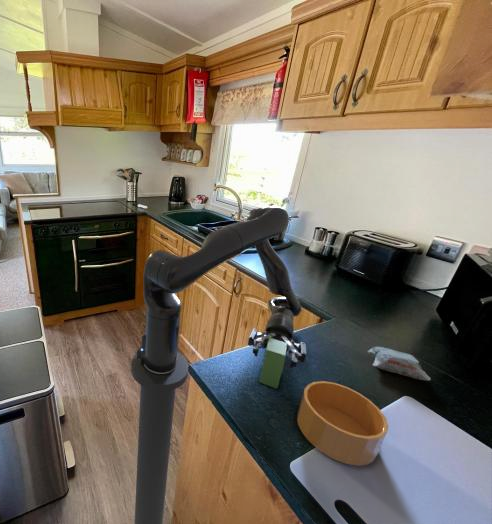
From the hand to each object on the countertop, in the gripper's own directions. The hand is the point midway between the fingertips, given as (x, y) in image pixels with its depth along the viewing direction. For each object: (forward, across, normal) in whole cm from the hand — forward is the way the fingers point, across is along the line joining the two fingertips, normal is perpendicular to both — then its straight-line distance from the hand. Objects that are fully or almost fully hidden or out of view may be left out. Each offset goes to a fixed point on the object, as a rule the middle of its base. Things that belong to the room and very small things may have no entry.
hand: (273, 359), depth 74 cm
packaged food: (-22, +30, +6) cm, 38 cm away
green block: (0, 0, +6) cm, 6 cm away
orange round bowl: (+10, +14, +6) cm, 18 cm away
